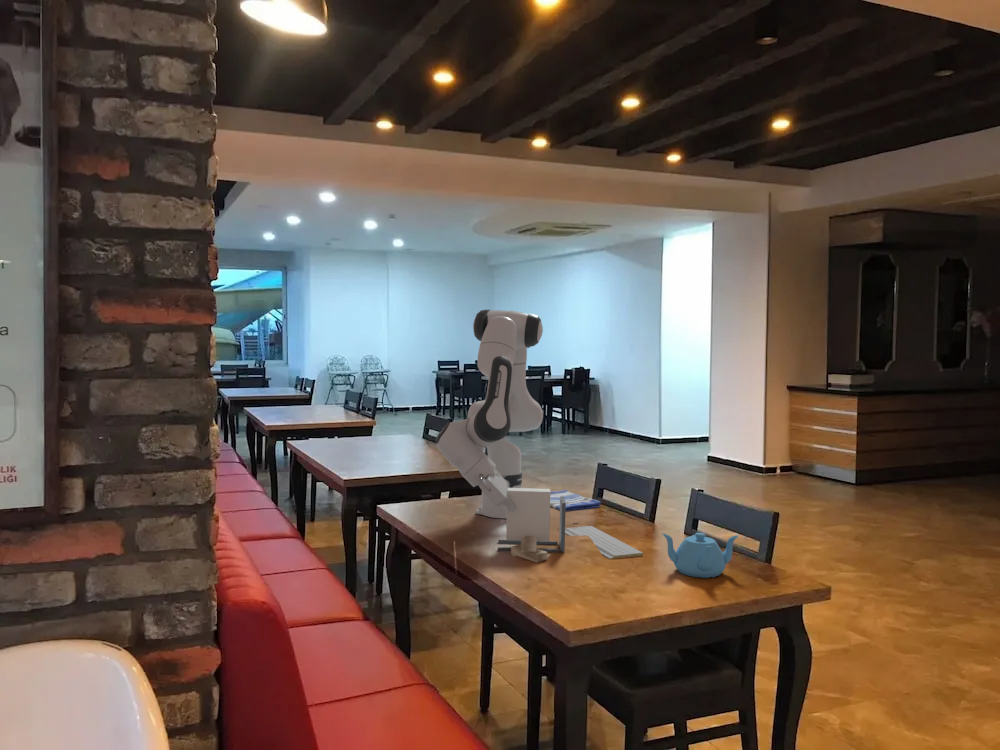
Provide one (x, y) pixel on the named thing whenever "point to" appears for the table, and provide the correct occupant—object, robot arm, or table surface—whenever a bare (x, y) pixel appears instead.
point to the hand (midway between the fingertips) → (514, 507)
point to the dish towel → (572, 501)
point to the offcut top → (528, 544)
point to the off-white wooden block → (528, 514)
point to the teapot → (700, 555)
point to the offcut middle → (529, 554)
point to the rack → (561, 541)
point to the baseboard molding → (604, 542)
